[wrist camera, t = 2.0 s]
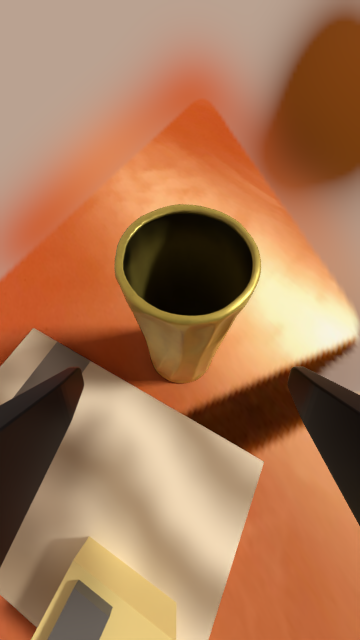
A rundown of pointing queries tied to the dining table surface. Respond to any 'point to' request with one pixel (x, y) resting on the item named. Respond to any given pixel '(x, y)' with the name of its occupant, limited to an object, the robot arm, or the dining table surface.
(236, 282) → the vase
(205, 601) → the subfloor panel
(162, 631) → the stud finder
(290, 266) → the dining table surface
